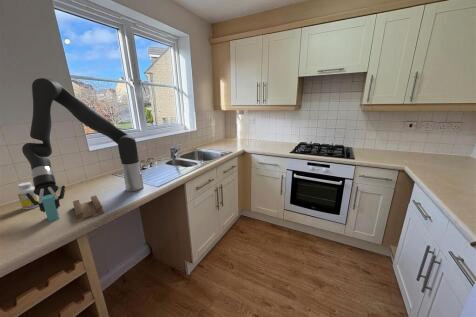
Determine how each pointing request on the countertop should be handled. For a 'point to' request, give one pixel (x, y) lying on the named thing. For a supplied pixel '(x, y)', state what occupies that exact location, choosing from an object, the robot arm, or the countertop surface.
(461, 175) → the countertop surface
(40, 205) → the robot arm
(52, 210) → the teal rectangular block
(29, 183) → the supplement bottle
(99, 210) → the wooden cradle
